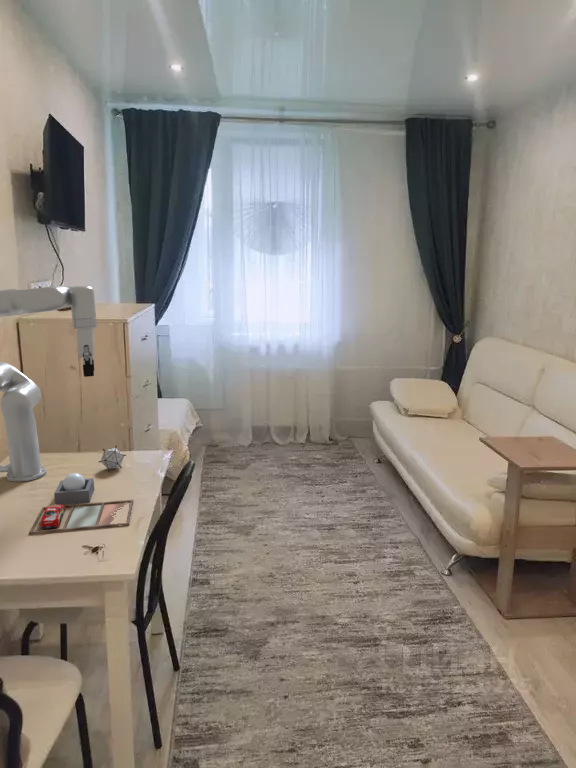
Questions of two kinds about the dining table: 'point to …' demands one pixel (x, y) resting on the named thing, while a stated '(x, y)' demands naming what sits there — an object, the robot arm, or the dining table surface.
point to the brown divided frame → (88, 516)
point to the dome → (74, 482)
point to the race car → (52, 516)
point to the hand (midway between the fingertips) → (89, 373)
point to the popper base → (74, 494)
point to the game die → (112, 458)
